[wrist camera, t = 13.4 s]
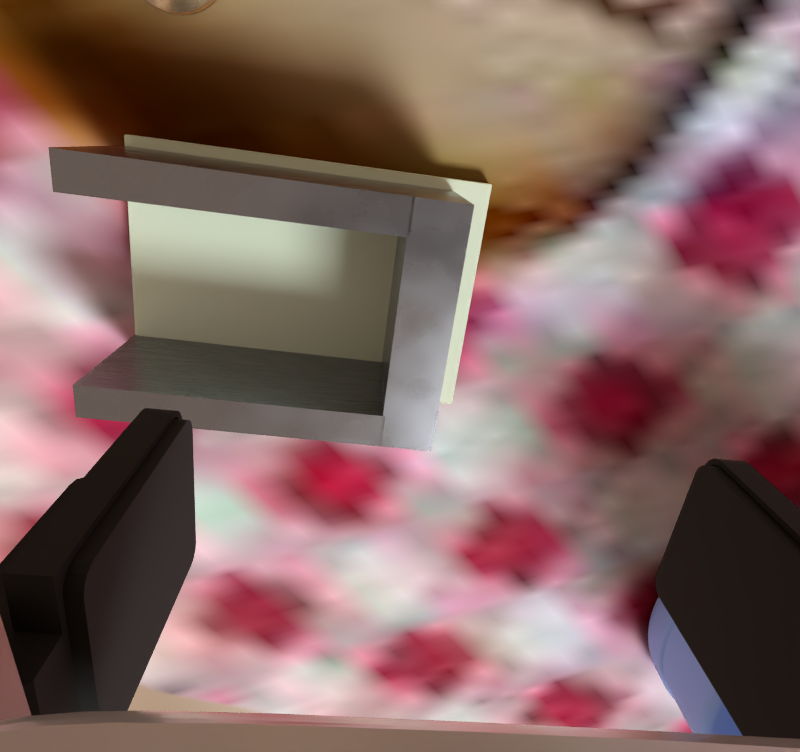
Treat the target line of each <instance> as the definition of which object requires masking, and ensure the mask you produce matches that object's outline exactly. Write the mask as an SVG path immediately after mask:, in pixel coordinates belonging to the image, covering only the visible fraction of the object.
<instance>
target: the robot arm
mask: <svg viewBox="0 0 800 752" xmlns="http://www.w3.org/2000/svg"><path fill="white" fill-rule="evenodd" d="M195 546H196V534H195V500H194V466H193V433H192V423H191V421H190V420H184V419H182V416H181V413H180V412H179V411H174V410H163V409H152V408H144V409H143V410H142V411H141V412H140V413H139V414H138V415H137V416H136V418H135V419H134V420H133V421H132V422H131V423H130V425H129V426H128V427H127V428H126V429H125V430H124V432H123V433H122V434H121V435H120V436H119V437H118V438H117V440H116V441H115V442H114V443H113V444H112V445H111V447H110V448H109V449H108V450H107V451H106V452H105V454H104V455H103V456H102V457H101V458H100V459H99V461H98V462H97V463H96V464H95V465H94V466H93V467H92V469H91V470H90V471H89V472H88V473H87V474H86V476H85V477H84V478H80V479H76V480H75V481H74V482H73V483H71V484H70V485H69V486H68V488H67V489H66V490H65V491H64V492H63V493H62V494H61V495H60V497H59V498H58V499H57V500H56V501H55V502H54V503H53V505H52V506H51V507H50V508H49V509H48V510H47V511H46V512H45V514H44V515H43V516H42V517H41V518H40V519H39V520H38V522H37V523H36V524H35V525H34V526H33V527H32V528H31V529H30V531H29V532H28V533H27V534H26V535H25V536H24V537H23V538H22V540H21V541H20V542H19V543H18V544H17V545H16V546H15V548H14V549H13V550H12V551H11V552H10V553H9V554H8V555H7V557H6V558H5V559H4V560H3V561H2V562H1V563H0V752H800V509H799V508H798V507H797V506H796V505H795V504H793V503H792V502H791V501H790V500H789V499H788V498H787V497H786V496H784V495H783V494H782V493H781V492H780V491H779V490H778V489H777V488H776V487H774V486H773V485H772V484H771V483H770V482H769V481H768V480H767V479H765V478H764V477H763V476H762V475H761V474H760V473H759V472H758V471H756V470H755V469H754V468H753V467H752V466H751V465H750V464H748V463H746V462H743V461H733V460H722V459H712V460H709V461H708V462H707V463H706V464H705V466H704V465H703V466H701V467H699V468H698V469H697V471H696V473H695V476H694V478H693V481H692V484H691V486H690V489H689V491H688V494H687V496H686V499H685V502H684V504H683V507H682V509H681V512H680V515H679V517H678V520H677V522H676V525H675V528H674V530H673V533H672V535H671V538H670V540H669V543H668V546H667V548H666V551H665V553H664V556H663V559H662V561H661V564H660V566H659V569H658V572H657V574H656V578H655V586H656V591H657V594H658V596H659V598H660V600H661V601H662V603H663V605H664V606H665V608H666V610H667V611H668V613H669V614H670V616H671V618H672V619H673V621H674V623H675V624H676V626H677V628H678V629H679V631H680V633H681V634H682V636H683V638H684V639H685V641H686V643H687V644H688V646H689V648H690V649H691V651H692V653H693V654H694V656H695V658H696V659H697V661H698V663H699V664H700V666H701V668H702V669H703V671H704V673H705V674H706V676H707V677H708V679H709V681H710V682H711V684H712V686H713V687H714V689H715V691H716V692H717V694H718V696H719V697H720V699H721V701H722V702H723V704H724V706H725V707H726V709H727V711H728V712H729V714H730V716H731V717H732V719H733V721H734V722H735V724H736V726H737V727H738V729H739V731H740V732H741V734H742V736H737V735H719V734H701V733H682V732H662V731H642V730H622V729H602V728H583V727H562V726H541V725H520V724H499V723H479V722H457V721H433V720H410V719H387V718H364V717H340V716H317V715H294V714H266V713H227V712H188V711H187V712H186V711H127V710H128V708H129V706H130V703H131V701H132V699H133V697H134V694H135V692H136V689H137V687H138V685H139V683H140V681H141V678H142V676H143V674H144V671H145V669H146V667H147V665H148V662H149V660H150V658H151V655H152V653H153V651H154V649H155V646H156V644H157V642H158V639H159V637H160V635H161V633H162V630H163V628H164V626H165V623H166V621H167V619H168V617H169V614H170V612H171V610H172V607H173V605H174V603H175V601H176V598H177V596H178V594H179V591H180V589H181V587H182V585H183V582H184V580H185V578H186V576H187V573H188V571H189V569H190V566H191V564H192V561H193V558H194V553H195Z"/></svg>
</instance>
